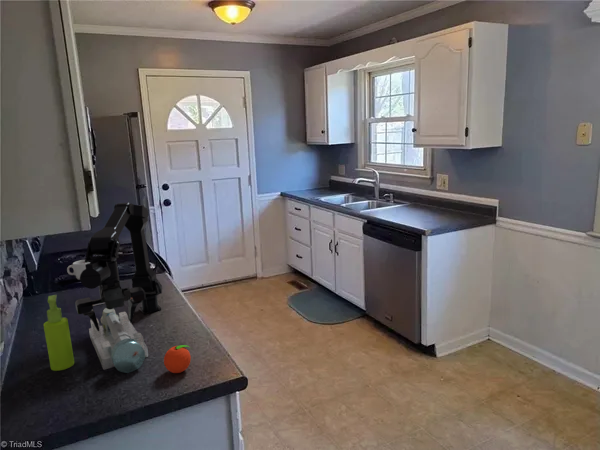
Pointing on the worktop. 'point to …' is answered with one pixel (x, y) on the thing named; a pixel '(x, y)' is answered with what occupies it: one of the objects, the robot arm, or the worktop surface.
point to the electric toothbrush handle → (113, 325)
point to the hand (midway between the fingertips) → (114, 326)
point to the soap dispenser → (58, 338)
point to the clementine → (177, 359)
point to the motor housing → (119, 347)
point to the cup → (77, 268)
